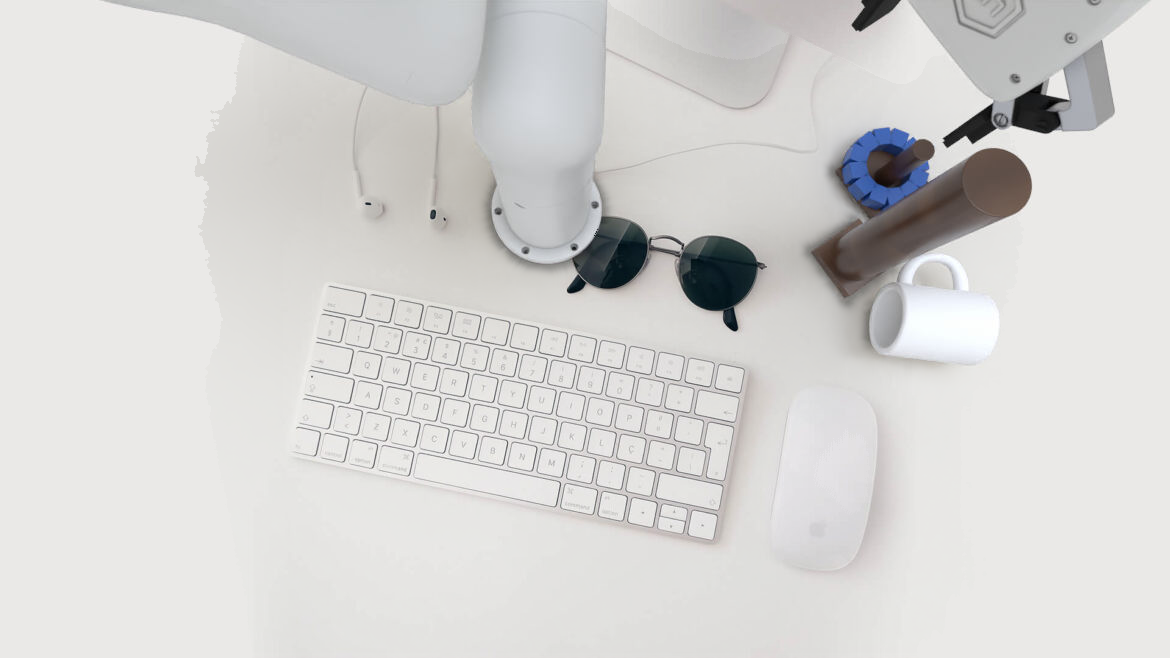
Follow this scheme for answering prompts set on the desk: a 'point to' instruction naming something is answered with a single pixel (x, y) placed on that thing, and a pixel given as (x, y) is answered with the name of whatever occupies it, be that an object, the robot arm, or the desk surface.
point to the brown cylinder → (928, 218)
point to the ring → (863, 182)
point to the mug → (933, 318)
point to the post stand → (893, 167)
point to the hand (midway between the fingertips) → (915, 75)
